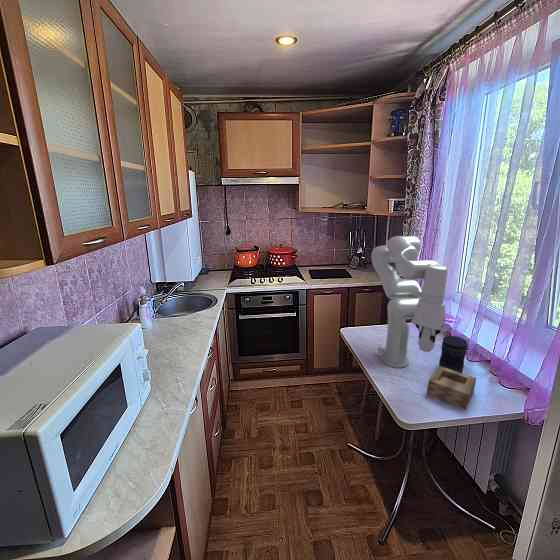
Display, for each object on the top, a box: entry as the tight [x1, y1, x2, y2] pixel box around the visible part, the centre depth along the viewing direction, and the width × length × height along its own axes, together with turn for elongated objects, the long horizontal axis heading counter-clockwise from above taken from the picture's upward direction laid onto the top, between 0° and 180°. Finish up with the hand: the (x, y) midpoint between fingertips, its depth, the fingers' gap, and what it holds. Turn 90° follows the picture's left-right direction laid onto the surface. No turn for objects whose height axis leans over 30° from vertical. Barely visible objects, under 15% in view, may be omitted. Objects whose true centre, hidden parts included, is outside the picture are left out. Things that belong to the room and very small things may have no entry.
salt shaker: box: [417, 327, 436, 353], centre depth 124 cm, size 6×6×13 cm
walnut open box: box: [426, 365, 477, 411], centre depth 129 cm, size 14×14×7 cm
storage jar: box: [438, 335, 469, 374], centre depth 144 cm, size 10×10×15 cm
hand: (426, 341), depth 125 cm, fingers closed on salt shaker, 3 cm apart
